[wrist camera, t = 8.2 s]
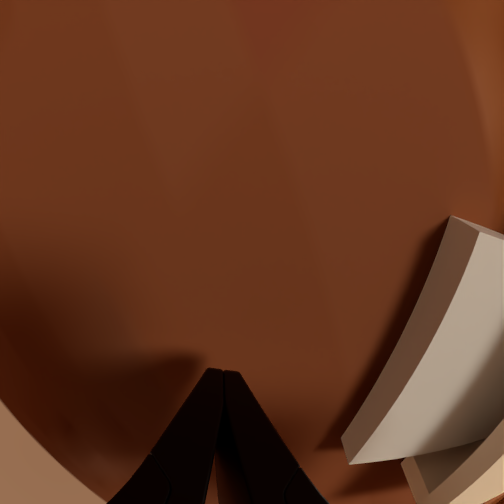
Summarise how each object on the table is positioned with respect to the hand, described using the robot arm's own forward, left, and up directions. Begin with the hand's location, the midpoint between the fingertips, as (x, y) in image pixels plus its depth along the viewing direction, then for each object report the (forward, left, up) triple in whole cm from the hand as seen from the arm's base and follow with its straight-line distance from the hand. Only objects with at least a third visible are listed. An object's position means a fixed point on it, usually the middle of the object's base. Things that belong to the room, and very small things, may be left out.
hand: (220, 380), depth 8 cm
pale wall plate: (0, -13, -2) cm, 13 cm away
